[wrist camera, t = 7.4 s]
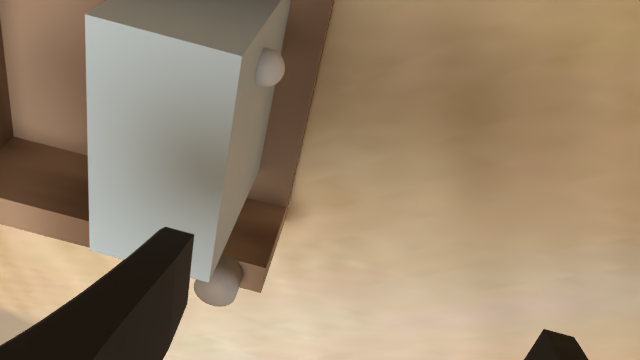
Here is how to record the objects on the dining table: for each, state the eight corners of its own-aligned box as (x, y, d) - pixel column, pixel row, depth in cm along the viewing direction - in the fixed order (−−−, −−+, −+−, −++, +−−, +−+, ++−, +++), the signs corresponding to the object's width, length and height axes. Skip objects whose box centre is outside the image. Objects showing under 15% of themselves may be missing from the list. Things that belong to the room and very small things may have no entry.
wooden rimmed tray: (358, -112, 16) (335, -79, 12) (283, 224, 23) (253, 316, 19) (-53, -218, 16) (-213, -221, 12) (-4, 148, 24) (-94, 224, 19)
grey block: (315, -14, 17) (271, 64, 12) (276, 174, 21) (230, 288, 16) (181, -50, 17) (85, 14, 13) (167, 144, 21) (89, 250, 16)
